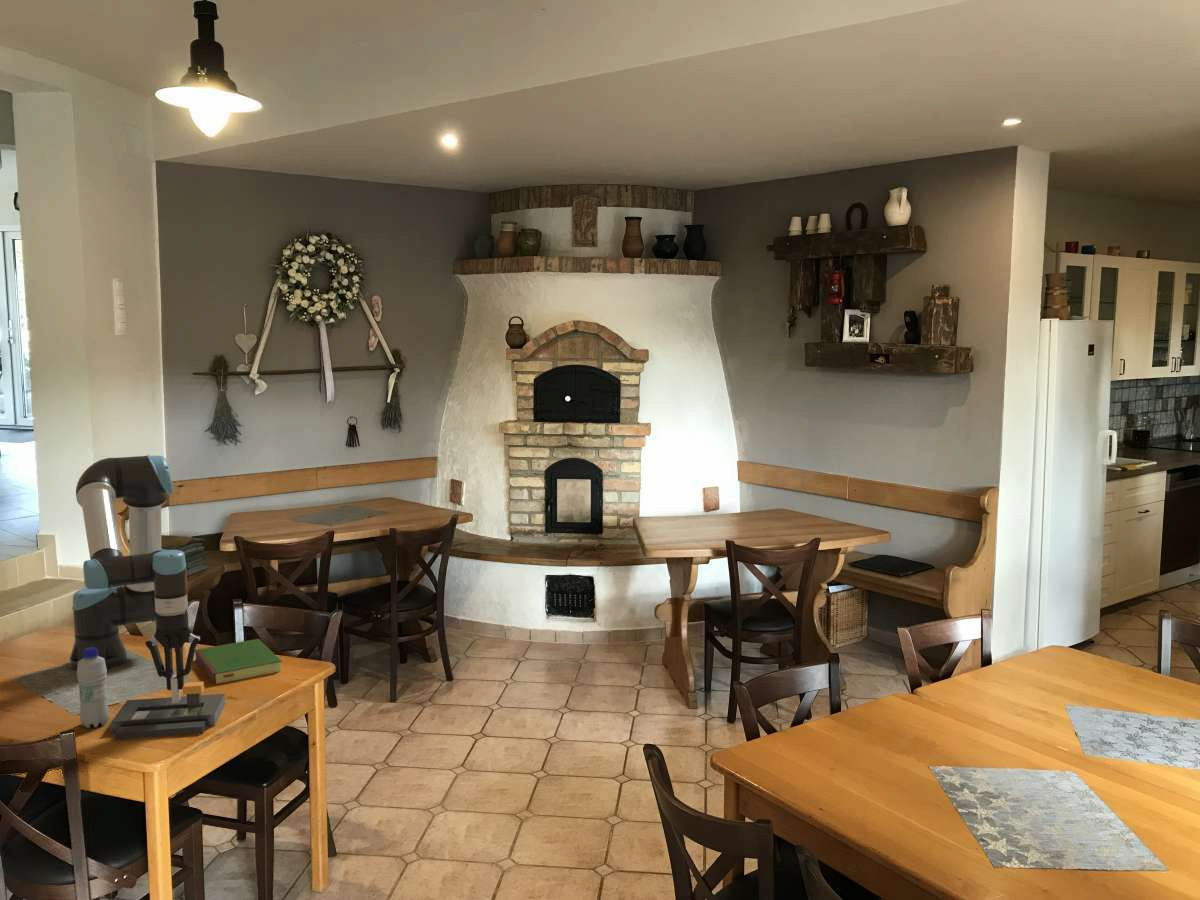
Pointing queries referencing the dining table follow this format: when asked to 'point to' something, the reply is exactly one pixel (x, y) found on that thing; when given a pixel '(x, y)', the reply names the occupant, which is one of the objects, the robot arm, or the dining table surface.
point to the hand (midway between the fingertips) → (176, 701)
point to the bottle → (92, 688)
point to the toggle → (193, 693)
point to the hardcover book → (237, 661)
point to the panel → (168, 711)
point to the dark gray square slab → (160, 730)
